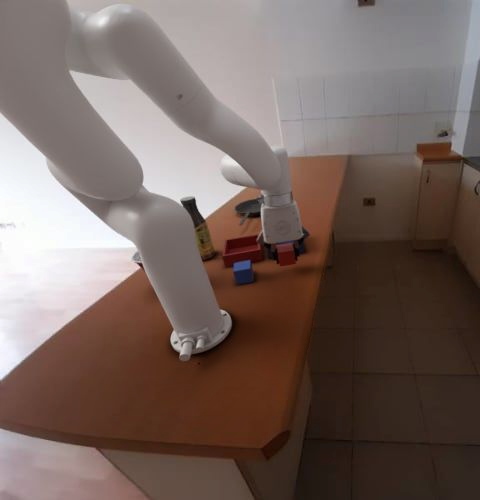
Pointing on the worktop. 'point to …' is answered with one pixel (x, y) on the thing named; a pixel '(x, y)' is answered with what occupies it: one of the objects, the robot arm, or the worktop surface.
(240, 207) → the frying pan
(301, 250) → the blue bin
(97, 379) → the worktop surface
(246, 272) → the blue block
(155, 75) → the robot arm
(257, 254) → the red bin
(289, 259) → the red block
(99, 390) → the worktop surface
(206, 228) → the sauce bottle
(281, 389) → the worktop surface
